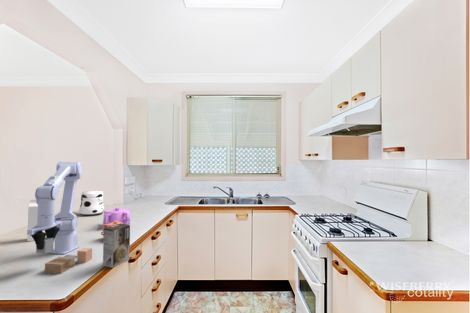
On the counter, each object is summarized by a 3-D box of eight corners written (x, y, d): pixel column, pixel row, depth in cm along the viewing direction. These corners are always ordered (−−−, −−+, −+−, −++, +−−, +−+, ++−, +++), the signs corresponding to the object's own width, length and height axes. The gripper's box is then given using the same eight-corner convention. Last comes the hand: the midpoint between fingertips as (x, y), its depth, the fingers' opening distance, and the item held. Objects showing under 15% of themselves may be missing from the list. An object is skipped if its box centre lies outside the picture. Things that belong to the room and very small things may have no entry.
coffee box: (119, 257, 113) (120, 222, 113) (129, 260, 110) (130, 224, 110) (101, 265, 104) (103, 227, 104) (112, 268, 102) (113, 229, 102)
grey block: (44, 249, 103) (45, 237, 103) (53, 249, 103) (53, 238, 103) (36, 252, 99) (36, 240, 99) (44, 253, 99) (45, 241, 99)
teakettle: (102, 230, 154) (103, 211, 154) (103, 223, 169) (103, 206, 170) (131, 227, 162) (132, 209, 162) (129, 221, 177) (130, 204, 177)
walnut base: (59, 264, 104) (59, 256, 104) (74, 265, 103) (74, 257, 103) (44, 272, 97) (45, 263, 97) (60, 273, 96) (61, 264, 96)
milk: (30, 238, 136) (31, 199, 137) (43, 237, 139) (44, 198, 139) (27, 241, 131) (28, 200, 131) (41, 240, 134) (42, 200, 134)
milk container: (108, 213, 199) (109, 192, 200) (86, 217, 185) (86, 194, 185) (96, 211, 209) (97, 190, 209) (75, 214, 194) (75, 192, 194)
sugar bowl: (122, 242, 133) (122, 223, 134) (95, 242, 132) (96, 223, 133) (130, 235, 146) (130, 218, 146) (106, 235, 145) (106, 218, 145)
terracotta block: (83, 258, 111) (83, 247, 111) (91, 259, 110) (92, 248, 111) (77, 262, 107) (77, 251, 107) (85, 262, 106) (85, 251, 107)
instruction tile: (66, 255, 114) (66, 254, 114) (78, 256, 113) (78, 255, 113) (52, 262, 106) (52, 261, 106) (65, 263, 105) (65, 262, 105)
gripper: (52, 210, 109) (51, 240, 109) (20, 218, 95) (19, 253, 94) (66, 211, 108) (65, 241, 108) (37, 218, 94) (35, 254, 94)
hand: (45, 247), depth 101 cm, fingers closed on grey block, 4 cm apart
